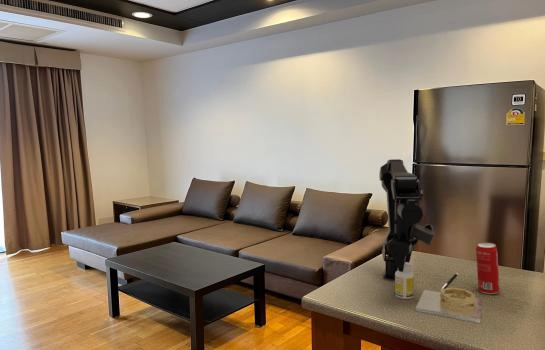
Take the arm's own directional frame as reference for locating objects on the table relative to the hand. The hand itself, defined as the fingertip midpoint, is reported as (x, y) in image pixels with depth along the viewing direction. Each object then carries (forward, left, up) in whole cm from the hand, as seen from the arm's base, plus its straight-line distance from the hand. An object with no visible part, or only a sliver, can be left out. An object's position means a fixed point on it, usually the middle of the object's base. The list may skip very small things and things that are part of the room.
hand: (404, 266), depth 119 cm
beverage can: (+22, +15, -9) cm, 28 cm away
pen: (+11, +18, -10) cm, 23 cm away
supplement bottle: (0, 0, -9) cm, 9 cm away
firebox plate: (+13, -2, -9) cm, 16 cm away
